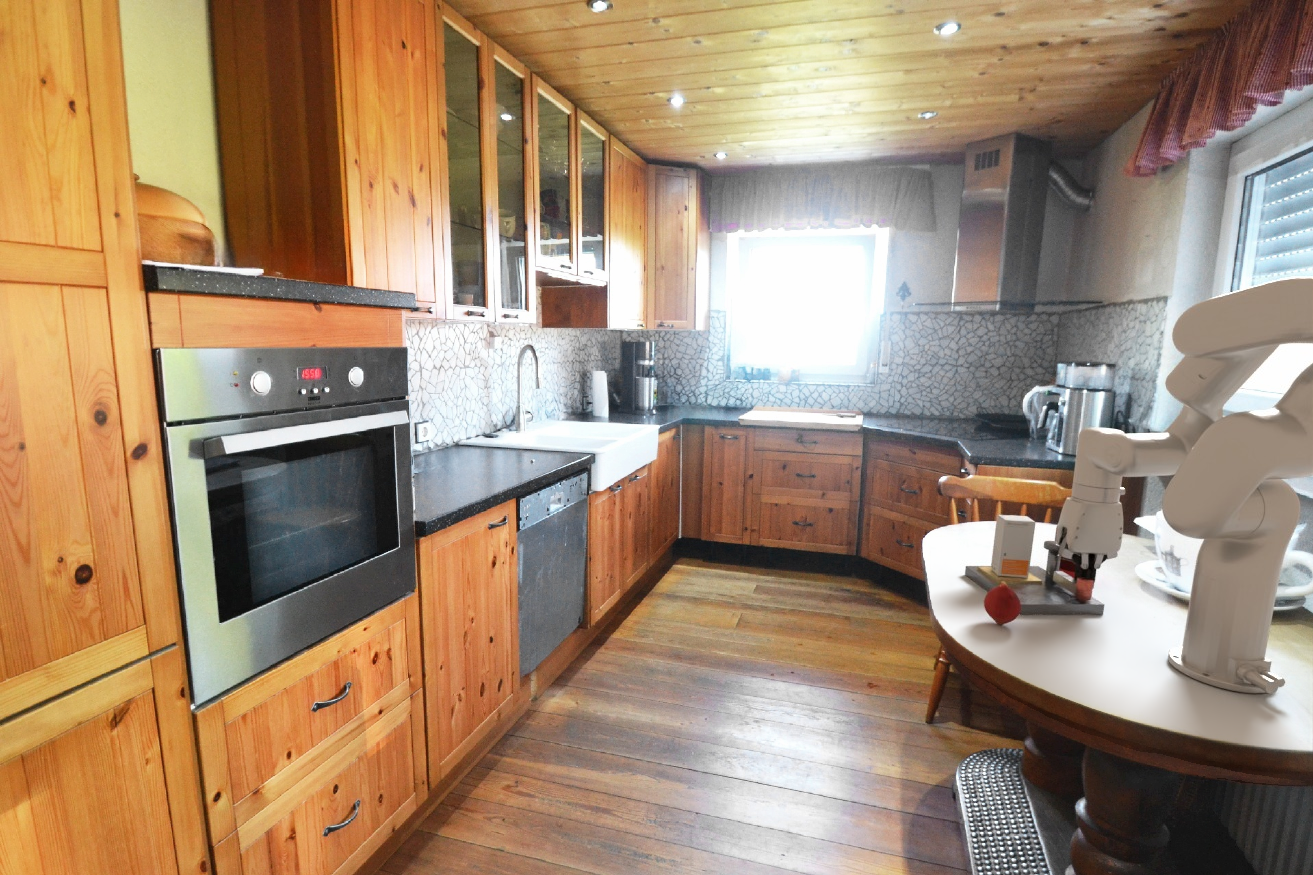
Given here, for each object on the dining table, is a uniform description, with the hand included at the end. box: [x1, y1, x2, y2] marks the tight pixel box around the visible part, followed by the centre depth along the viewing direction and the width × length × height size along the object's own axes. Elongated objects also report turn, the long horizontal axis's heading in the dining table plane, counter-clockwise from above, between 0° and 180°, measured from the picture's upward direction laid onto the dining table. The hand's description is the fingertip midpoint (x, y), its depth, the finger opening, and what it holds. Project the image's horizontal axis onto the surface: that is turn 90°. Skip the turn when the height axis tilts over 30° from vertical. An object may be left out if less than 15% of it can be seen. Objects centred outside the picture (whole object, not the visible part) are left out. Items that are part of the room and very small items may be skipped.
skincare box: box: [990, 514, 1036, 578], centre depth 134 cm, size 6×4×12 cm
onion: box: [983, 581, 1021, 626], centre depth 117 cm, size 6×6×8 cm
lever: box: [1053, 571, 1095, 600], centre depth 125 cm, size 10×3×4 cm, turn 179°
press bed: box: [964, 540, 1105, 616], centre depth 131 cm, size 20×16×10 cm
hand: (1083, 586), depth 126 cm, fingers closed
